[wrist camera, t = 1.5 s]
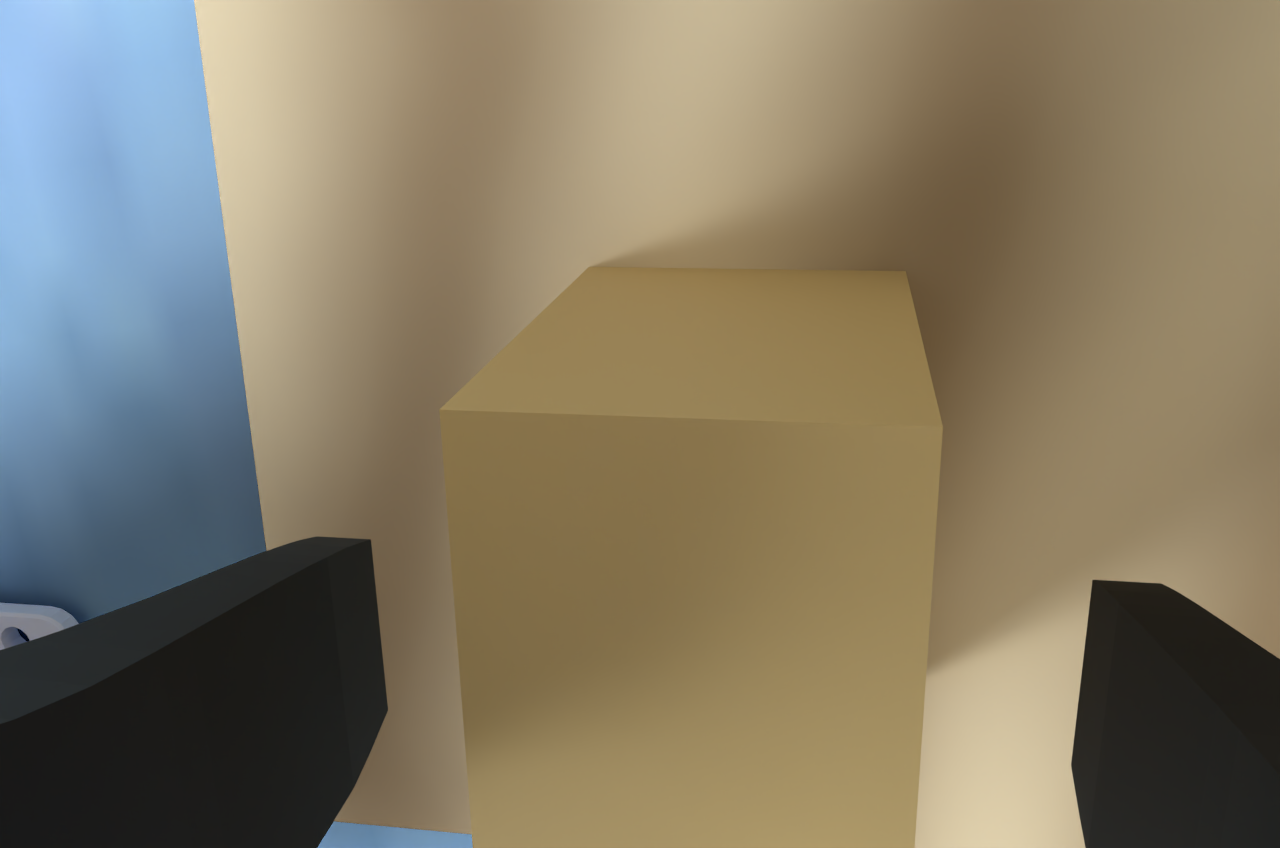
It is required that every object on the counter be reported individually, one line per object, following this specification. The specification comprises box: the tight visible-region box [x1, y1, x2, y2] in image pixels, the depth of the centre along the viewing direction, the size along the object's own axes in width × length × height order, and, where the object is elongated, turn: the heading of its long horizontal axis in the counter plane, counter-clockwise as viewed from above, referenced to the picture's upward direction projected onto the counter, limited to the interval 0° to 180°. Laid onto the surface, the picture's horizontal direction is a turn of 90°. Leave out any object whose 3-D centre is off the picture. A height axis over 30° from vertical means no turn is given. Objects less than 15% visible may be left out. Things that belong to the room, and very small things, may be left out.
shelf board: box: [194, 0, 1280, 848], centre depth 13 cm, size 18×22×4 cm
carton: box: [439, 267, 943, 848], centre depth 13 cm, size 6×4×6 cm
